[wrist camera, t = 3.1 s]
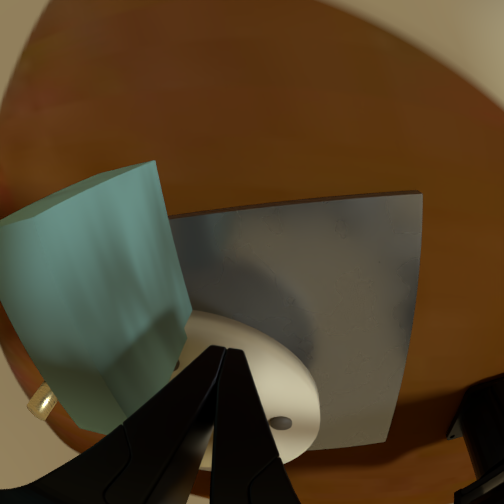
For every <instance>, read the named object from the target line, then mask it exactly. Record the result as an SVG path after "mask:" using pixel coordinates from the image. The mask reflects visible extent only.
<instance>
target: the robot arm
mask: <svg viewBox="0 0 504 504" xmlns="http://www.w3.org/2000/svg"><path fill="white" fill-rule="evenodd" d="M213 428H214V431H213ZM212 431H213V447H212V464H211V483H210V504H301V503H300V501H299V499H298V497H297V495H296V493H295V491H294V489H293V487H292V485H291V482H290V480H289V477H288V475H287V473H286V470H285V467H284V465H283V462H282V459H281V458H280V457H279V456H280V454H279V451H278V449H277V446H276V443H275V440H274V438H273V435H272V432H271V429H270V426H269V423H268V420H267V418H266V415H265V412H264V409H263V406H262V403H261V400H260V397H259V394H258V391H257V388H256V385H255V382H254V379H253V376H252V373H251V370H250V367H249V364H248V361H247V358H246V355H245V352H244V351H243V350H242V349H236V348H228V349H226V347H224V346H218V345H210V346H209V347H207V348H206V349H205V350H204V351H203V352H202V353H201V354H200V355H199V356H198V357H196V358H195V359H194V360H193V361H192V362H191V363H190V364H189V365H188V366H187V367H185V368H184V369H183V370H182V371H181V372H180V373H179V374H178V375H176V376H175V377H174V378H173V379H172V380H171V381H170V382H169V383H167V384H166V385H165V386H164V387H163V388H162V389H161V390H159V391H158V392H157V393H156V394H155V395H154V396H153V397H151V398H150V399H149V400H148V401H147V402H146V403H145V404H143V405H142V406H141V407H140V408H139V409H138V410H136V411H135V412H134V413H133V414H132V415H131V416H129V417H128V418H127V419H126V420H125V421H124V422H123V425H122V424H120V425H119V426H117V427H116V428H115V429H114V430H113V431H112V432H110V433H109V434H108V435H107V436H105V437H104V438H103V439H101V440H100V441H99V442H98V443H96V444H95V445H94V446H92V447H91V448H89V449H88V450H86V451H85V452H83V453H81V454H80V455H78V456H77V457H75V458H74V459H72V460H70V461H69V462H67V463H65V464H64V465H62V466H60V467H59V468H57V469H55V470H53V471H52V472H50V473H48V474H46V475H45V476H43V477H41V478H39V479H38V480H36V481H34V482H32V483H29V484H27V485H24V486H21V487H17V488H12V489H0V504H186V502H187V500H188V497H189V494H190V492H191V489H192V486H193V484H194V481H195V478H196V475H197V473H198V470H199V467H200V464H201V462H202V459H203V456H204V453H205V451H206V448H207V445H208V442H209V439H210V437H211V434H212ZM462 436H463V438H464V441H465V443H466V446H467V449H468V453H469V456H470V459H471V462H472V465H473V468H474V472H475V475H476V479H477V481H475V482H474V483H472V484H470V485H468V486H467V487H465V488H463V489H460V490H458V491H456V492H454V504H504V377H503V378H500V379H497V380H494V381H491V382H488V383H484V384H481V385H478V386H474V387H472V388H470V389H469V390H468V391H467V392H466V394H465V396H464V398H463V401H462V403H461V405H460V407H459V409H458V412H457V414H456V416H455V418H454V420H453V422H452V424H451V426H450V428H449V430H448V432H447V434H446V438H447V440H452V439H455V438H458V437H462Z"/></svg>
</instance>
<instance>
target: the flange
mask: <svg viewBox="0 0 504 504" xmlns="http://www.w3.org/2000/svg"><path fill="white" fill-rule="evenodd" d="M0 301H1V303H2V305H3V307H4V309H5V311H6V313H7V315H8V317H9V319H10V321H11V323H12V325H13V327H14V329H15V331H16V333H17V335H18V336H19V338H20V340H21V342H22V344H23V345H24V347H25V349H26V351H27V352H28V354H29V356H30V357H31V359H32V361H33V362H34V364H35V366H36V367H37V369H38V370H39V372H40V374H41V375H42V377H43V378H44V380H45V381H46V383H47V384H48V386H49V387H50V389H51V390H52V392H53V393H54V395H55V396H56V397H57V399H58V400H59V402H60V403H61V404H62V406H63V407H64V409H65V410H66V411H67V413H68V414H69V415H70V417H71V418H72V419H73V420H74V422H75V423H76V424H77V426H78V427H79V428H81V429H85V430H89V431H93V432H97V433H101V434H106V435H108V434H109V433H110V432H112V431H113V430H114V429H115V428H116V427H117V426H119V425H120V424H122V425H123V422H124V421H125V420H126V419H127V418H128V417H129V416H131V415H132V414H133V413H134V412H135V411H136V410H138V409H139V408H140V407H141V406H142V405H143V404H145V403H146V402H147V401H148V400H149V399H150V398H151V397H153V396H154V395H155V394H156V393H157V392H158V391H159V390H161V389H162V388H163V387H164V386H165V385H166V384H167V383H169V382H170V381H171V380H172V379H173V378H174V377H175V376H176V375H178V374H179V373H180V372H181V371H182V370H183V369H184V368H185V367H187V366H188V365H189V364H190V363H191V362H192V361H193V360H194V359H195V358H196V357H198V356H199V355H200V354H201V353H202V352H203V351H204V350H205V349H206V348H207V347H209V346H210V345H218V346H224V347H226V349H228V348H236V349H242V350H243V351H244V352H245V355H246V358H247V361H248V364H249V367H250V370H251V373H252V376H253V379H254V382H255V385H256V388H257V391H258V394H259V397H260V400H261V403H262V406H263V409H264V412H265V415H266V418H267V420H268V423H269V426H270V429H271V432H272V435H273V438H274V440H275V443H276V446H277V449H278V451H279V454H280V456H279V457H280V458H281V459H282V462H283V464H285V463H287V462H289V461H291V460H293V459H295V458H297V457H298V456H299V455H301V454H302V453H303V452H305V451H306V450H307V449H308V448H309V447H310V446H311V444H312V443H313V441H314V440H315V438H316V436H317V434H318V431H319V427H320V401H319V393H318V389H317V386H316V383H315V380H314V379H313V377H312V375H311V374H310V372H309V370H308V369H307V368H306V366H305V365H304V364H303V363H302V362H301V360H300V359H299V358H298V357H297V356H296V355H294V354H293V353H292V352H291V351H290V350H289V349H288V348H286V347H285V346H284V345H282V344H281V343H279V342H278V341H277V340H275V339H274V338H272V337H270V336H268V335H266V334H265V333H263V332H261V331H259V330H257V329H255V328H253V327H251V326H248V325H246V324H244V323H241V322H239V321H236V320H233V319H230V318H227V317H224V316H221V315H216V314H212V313H207V312H203V311H196V310H192V306H191V303H190V300H189V296H188V293H187V289H186V285H185V282H184V278H183V275H182V271H181V267H180V263H179V260H178V256H177V252H176V248H175V244H174V240H173V236H172V232H171V228H170V224H169V220H168V216H167V212H166V208H165V203H164V199H163V195H162V190H161V186H160V181H159V176H158V172H157V167H156V162H155V160H154V161H149V162H145V163H140V164H136V165H132V166H128V167H124V168H120V169H116V170H112V171H108V172H104V173H100V174H97V175H95V176H92V177H90V178H88V179H85V180H83V181H80V182H78V183H76V184H74V185H71V186H69V187H67V188H64V189H62V190H60V191H58V192H56V193H53V194H51V195H49V196H47V197H45V198H43V199H41V200H39V201H37V202H34V203H32V204H30V205H28V206H26V207H24V208H22V209H20V210H18V211H17V212H15V213H13V214H11V215H9V216H7V217H5V218H3V219H1V220H0ZM213 431H214V428H213ZM213 431H212V434H211V437H210V439H209V442H208V445H207V448H206V451H205V453H204V456H203V459H202V462H201V464H200V467H199V469H201V470H206V471H211V464H212V447H213Z"/></svg>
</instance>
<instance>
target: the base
mask: <svg viewBox="0 0 504 504" xmlns="http://www.w3.org/2000/svg"><path fill="white" fill-rule="evenodd" d="M422 205H423V194H422V193H421V192H419V191H418V190H413V191H397V192H383V193H369V194H357V195H345V196H333V197H322V198H312V199H302V200H292V201H283V202H273V203H264V204H256V205H247V206H239V207H231V208H223V209H215V210H208V211H200V212H193V213H186V214H179V215H172V216H168V220H169V224H170V228H171V232H172V236H173V240H174V244H175V248H176V252H177V256H178V260H179V263H180V267H181V271H182V275H183V278H184V282H185V285H186V289H187V293H188V296H189V300H190V303H191V306H192V310H196V311H203V312H207V313H212V314H216V315H221V316H224V317H227V318H230V319H233V320H236V321H239V322H241V323H244V324H246V325H248V326H251V327H253V328H255V329H257V330H259V331H261V332H263V333H265V334H266V335H268V336H270V337H272V338H274V339H275V340H277V341H278V342H279V343H281V344H282V345H284V346H285V347H286V348H288V349H289V350H290V351H291V352H292V353H293V354H294V355H296V356H297V357H298V358H299V359H300V360H301V362H302V363H303V364H304V365H305V366H306V368H307V369H308V370H309V372H310V374H311V375H312V377H313V379H314V380H315V383H316V386H317V389H318V393H319V401H320V427H319V431H318V434H317V436H316V438H315V440H314V441H313V443H312V444H311V446H310V447H309V448H308V449H307V450H321V449H333V448H343V447H352V446H360V445H367V444H374V443H380V442H385V441H386V438H387V435H388V431H389V428H390V424H391V421H392V417H393V414H394V410H395V406H396V402H397V398H398V394H399V390H400V386H401V382H402V377H403V372H404V368H405V363H406V358H407V353H408V347H409V342H410V336H411V330H412V324H413V317H414V310H415V303H416V295H417V286H418V276H419V265H420V252H421V236H422ZM57 401H58V399H57V397H56V396H55V395H54V393H53V392H52V390H51V389H50V387H49V386H48V384H47V383H46V381H44V382H43V383H42V385H41V386H40V387H39V389H38V390H37V392H36V393H35V394H34V396H33V397H32V398H31V400H30V401H29V403H28V404H27V408H28V409H29V411H30V412H31V413H32V414H33V415H34V416H36V417H37V418H39V419H41V420H43V421H44V420H45V419H46V418H47V416H48V415H49V413H50V412H51V410H52V409H53V407H54V406H55V404H56V403H57Z"/></svg>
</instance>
